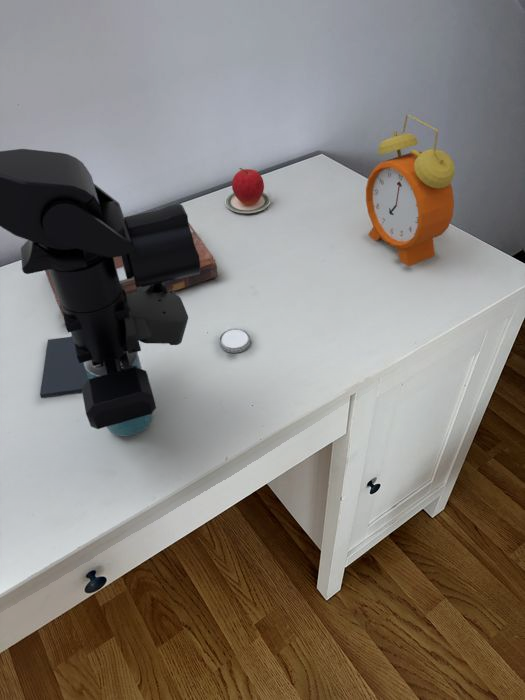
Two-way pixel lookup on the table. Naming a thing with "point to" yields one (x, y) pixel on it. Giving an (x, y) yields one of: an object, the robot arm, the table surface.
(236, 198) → the apple
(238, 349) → the bottle cap
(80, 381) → the mat
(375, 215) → the alarm clock
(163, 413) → the table surface
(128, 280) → the book
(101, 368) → the can
